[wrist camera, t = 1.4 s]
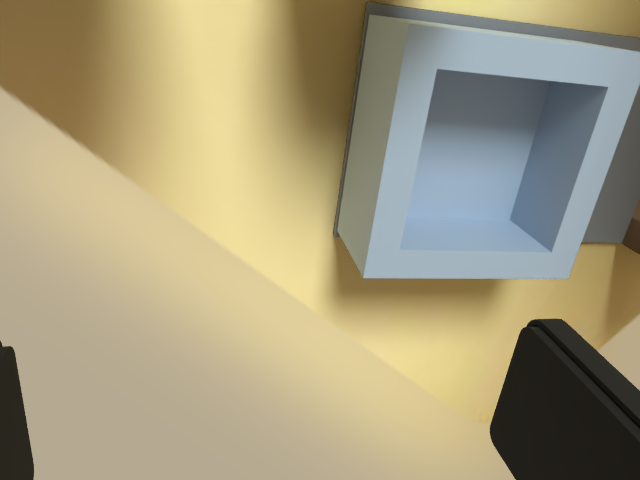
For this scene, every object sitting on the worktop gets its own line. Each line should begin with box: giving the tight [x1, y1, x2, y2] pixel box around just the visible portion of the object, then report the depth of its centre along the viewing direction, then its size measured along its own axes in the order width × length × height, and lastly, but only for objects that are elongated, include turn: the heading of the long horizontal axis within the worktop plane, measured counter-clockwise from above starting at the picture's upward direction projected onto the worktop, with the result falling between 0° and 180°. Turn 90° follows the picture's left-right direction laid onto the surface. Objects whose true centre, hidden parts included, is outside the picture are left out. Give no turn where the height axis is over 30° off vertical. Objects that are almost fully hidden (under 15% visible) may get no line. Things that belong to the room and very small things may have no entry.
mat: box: [333, 2, 640, 243], centre depth 30 cm, size 12×21×1 cm, turn 83°
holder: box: [337, 14, 640, 279], centre depth 26 cm, size 11×11×5 cm
